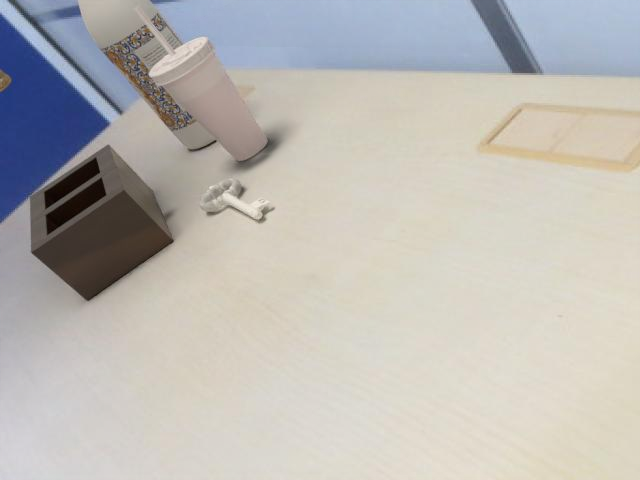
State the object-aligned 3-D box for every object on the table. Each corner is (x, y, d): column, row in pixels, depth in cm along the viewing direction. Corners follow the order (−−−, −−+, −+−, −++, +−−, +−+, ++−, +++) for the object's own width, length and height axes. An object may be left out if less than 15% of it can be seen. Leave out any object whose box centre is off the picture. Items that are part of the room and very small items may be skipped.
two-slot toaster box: (77, 240, 77) (29, 196, 73) (152, 190, 78) (108, 143, 74) (87, 301, 66) (30, 252, 62) (173, 240, 67) (123, 189, 63)
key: (233, 181, 70) (197, 208, 69) (226, 172, 70) (190, 199, 69) (282, 204, 63) (242, 236, 62) (274, 195, 62) (234, 226, 61)
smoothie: (256, 131, 78) (148, -8, 67) (290, 129, 74) (183, -19, 64) (213, 170, 75) (95, 31, 65) (247, 169, 71) (128, 23, 61)
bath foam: (186, 139, 85) (25, -49, 71) (237, 107, 85) (88, -87, 71) (188, 159, 80) (16, -38, 66) (242, 125, 80) (83, -79, 66)
